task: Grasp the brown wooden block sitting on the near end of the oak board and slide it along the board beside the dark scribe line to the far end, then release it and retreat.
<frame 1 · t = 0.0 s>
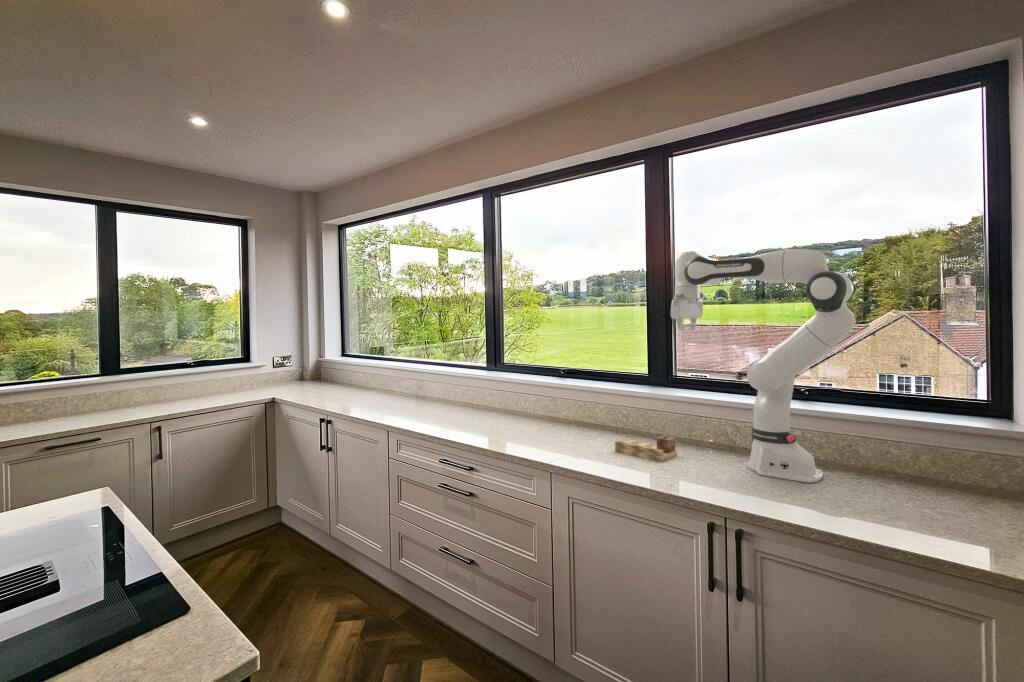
hand: (686, 330, 185), 48 cm above the worktop, fingers open, 8 cm apart
brown wooden block: (665, 450, 183), point 2 cm above the worktop, touching board
board: (645, 453, 187), on the worktop
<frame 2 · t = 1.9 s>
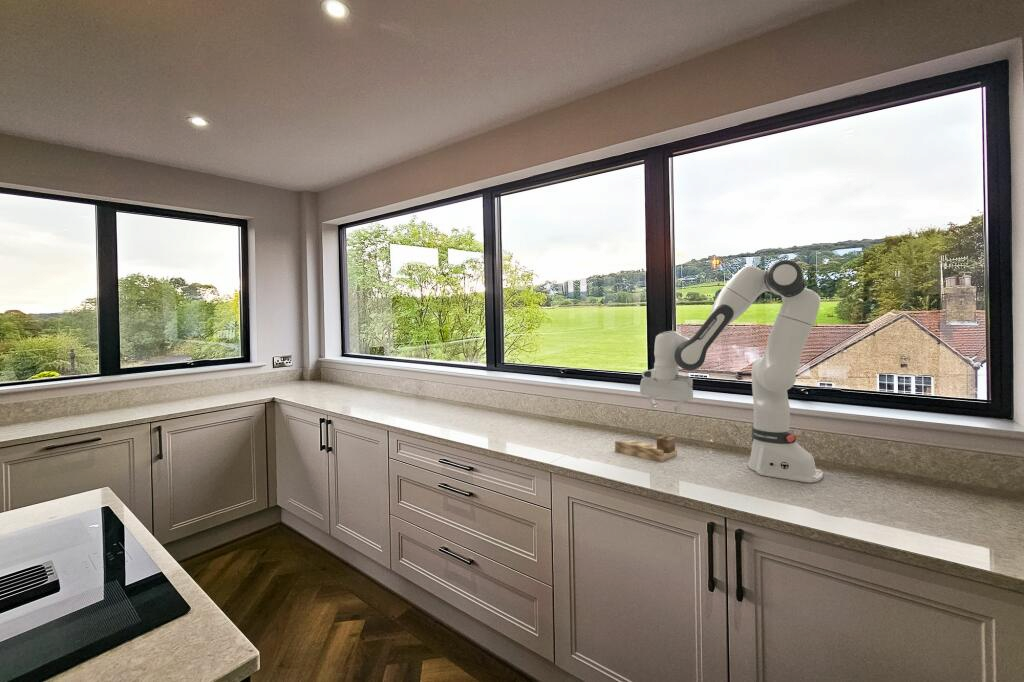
hand: (665, 409, 182), 18 cm above the worktop, fingers open, 8 cm apart
nothing on the worktop moved.
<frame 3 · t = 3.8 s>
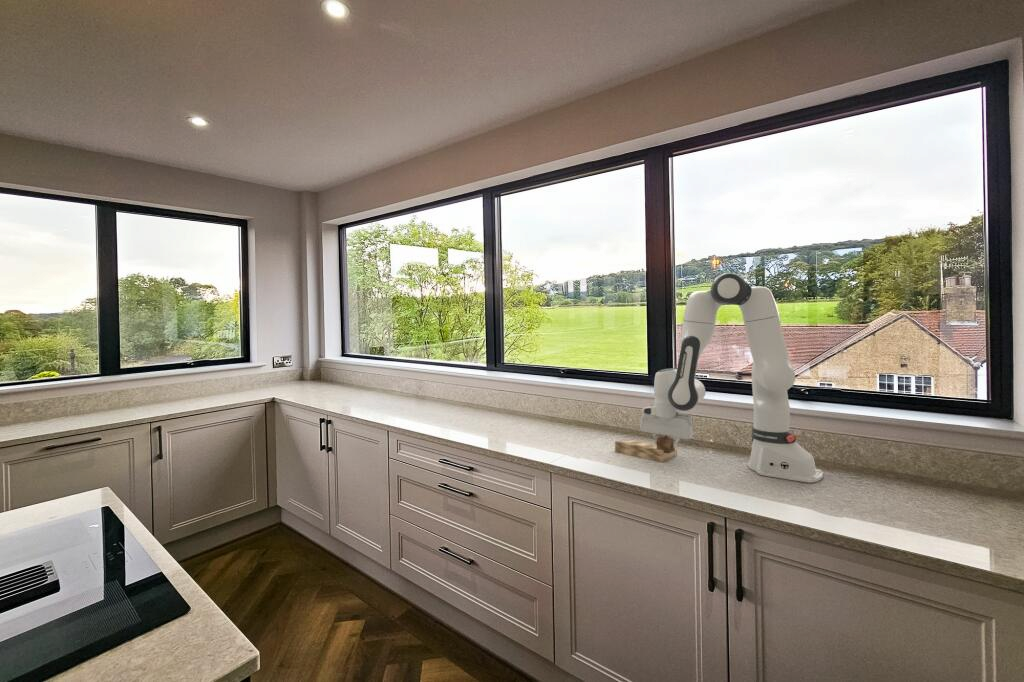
hand: (665, 446, 183), 4 cm above the worktop, fingers closed on brown wooden block, 5 cm apart
brown wooden block: (665, 450, 183), point 2 cm above the worktop, touching board, gripper
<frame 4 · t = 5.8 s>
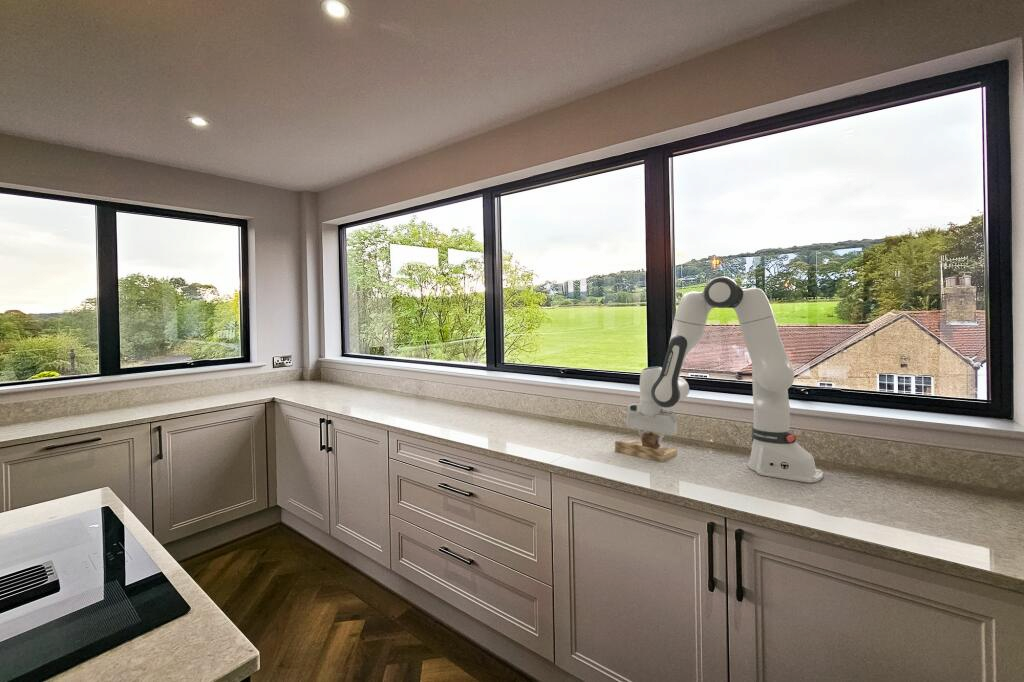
hand: (650, 442, 187), 4 cm above the worktop, fingers closed on brown wooden block, 5 cm apart
brown wooden block: (651, 446, 187), point 2 cm above the worktop, touching gripper
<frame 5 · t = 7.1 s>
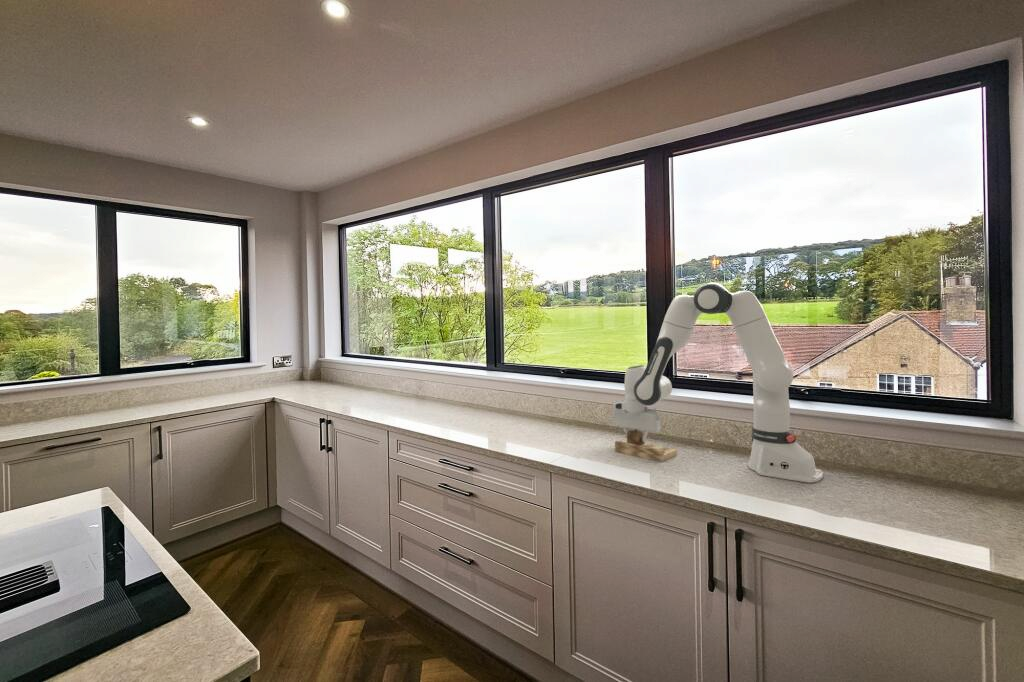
hand: (635, 439, 192), 4 cm above the worktop, fingers closed on brown wooden block, 5 cm apart
brown wooden block: (635, 443, 192), point 2 cm above the worktop, touching gripper
when the fingers open (4 cm above the worktop, at t = 8.2 s): brown wooden block stays where it is, resting on board.
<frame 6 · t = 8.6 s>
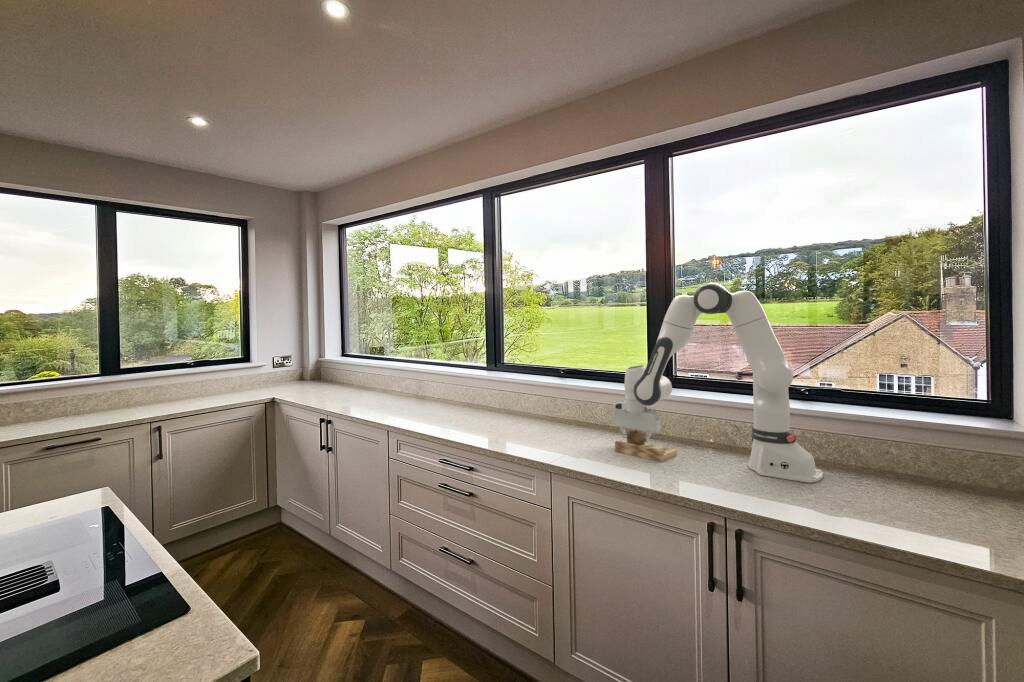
hand: (635, 439, 192), 4 cm above the worktop, fingers open, 8 cm apart
brown wooden block: (635, 444, 192), point 2 cm above the worktop, touching board
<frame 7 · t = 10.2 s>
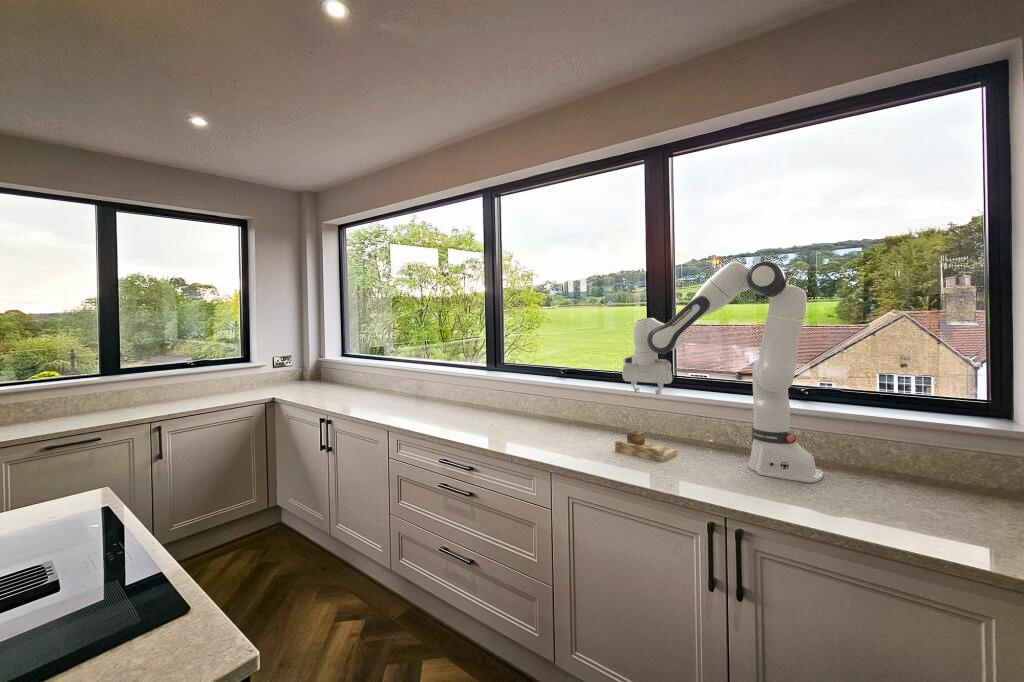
hand: (647, 393, 190), 23 cm above the worktop, fingers open, 8 cm apart
nothing on the worktop moved.
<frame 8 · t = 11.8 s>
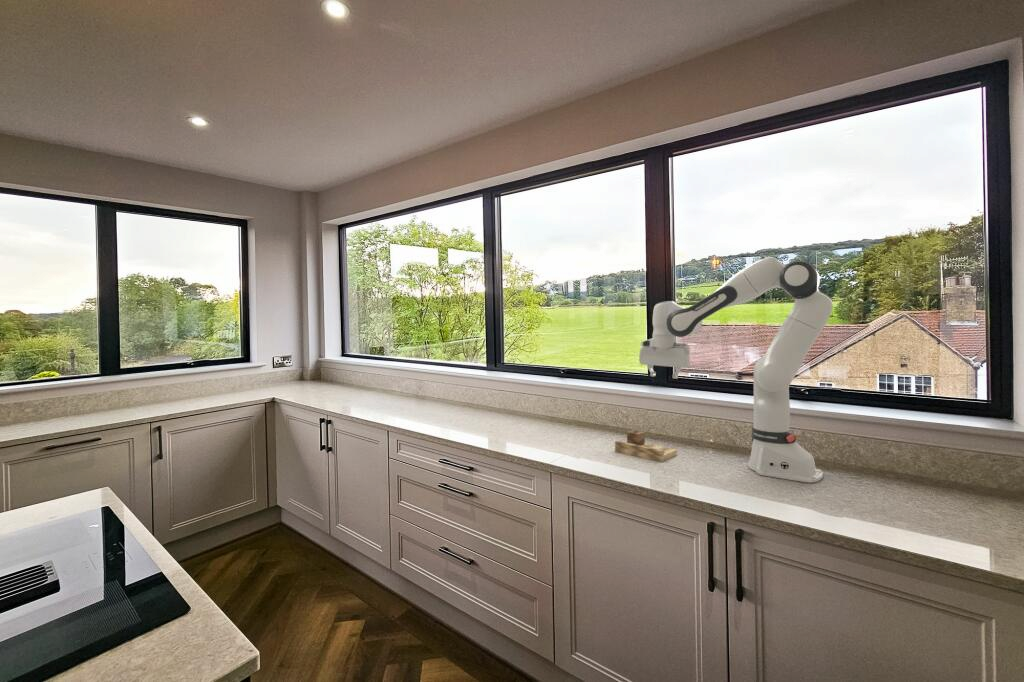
hand: (663, 377, 189), 29 cm above the worktop, fingers open, 8 cm apart
nothing on the worktop moved.
at the end: brown wooden block inside the target area on the board (0.7 cm from its centre), point 2.0 cm above the board's base; brown wooden block tilted 0°; the gripper is holding nothing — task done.
